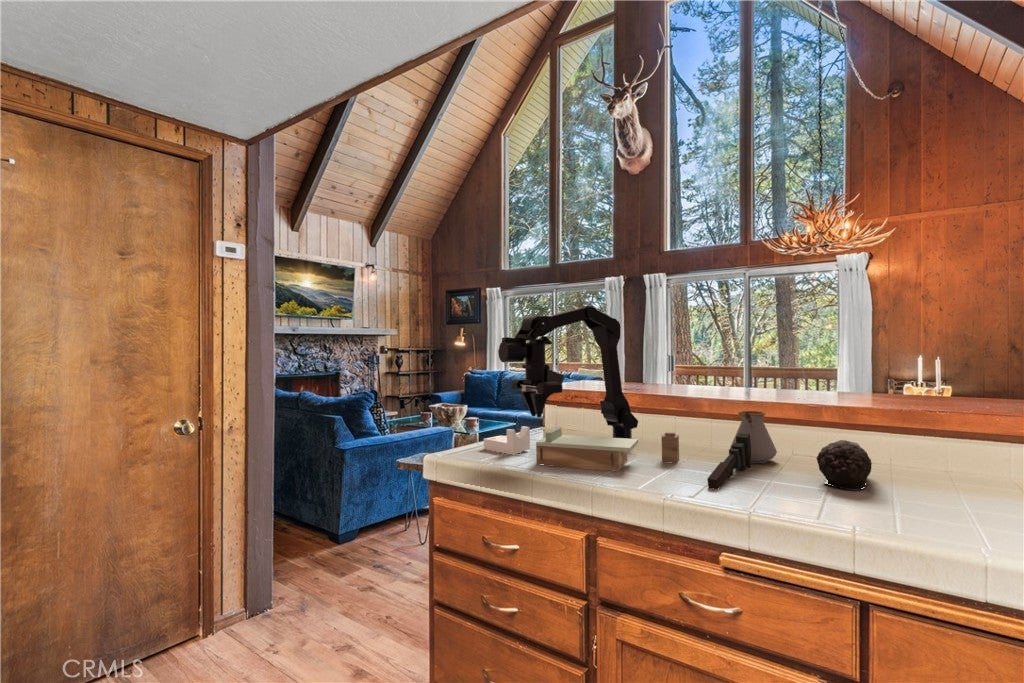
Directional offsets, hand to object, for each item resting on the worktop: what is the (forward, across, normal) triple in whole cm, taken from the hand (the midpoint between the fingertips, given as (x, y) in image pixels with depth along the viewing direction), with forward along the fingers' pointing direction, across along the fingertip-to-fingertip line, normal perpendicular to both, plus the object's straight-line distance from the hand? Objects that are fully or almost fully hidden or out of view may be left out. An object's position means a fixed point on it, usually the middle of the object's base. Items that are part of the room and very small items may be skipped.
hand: (536, 416), depth 148 cm
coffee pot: (+12, -36, -44) cm, 58 cm away
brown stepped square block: (+12, -22, -29) cm, 38 cm away
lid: (+7, -11, -9) cm, 16 cm away
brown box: (+12, -10, -8) cm, 18 cm away
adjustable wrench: (+12, -41, -29) cm, 52 cm away
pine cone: (+12, -57, -47) cm, 75 cm away
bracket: (+12, +16, +1) cm, 20 cm away
